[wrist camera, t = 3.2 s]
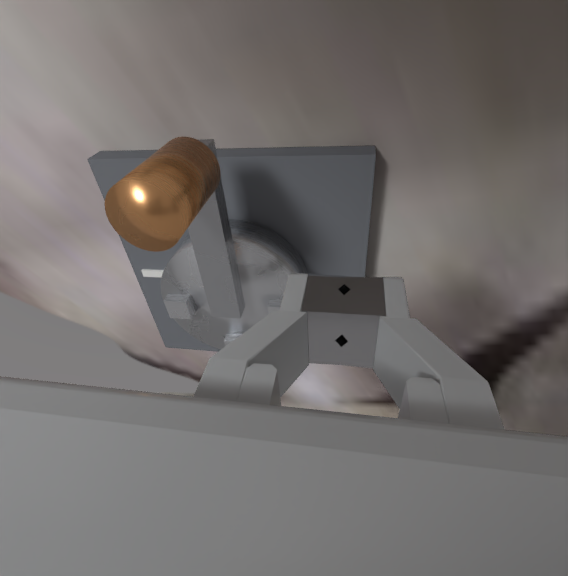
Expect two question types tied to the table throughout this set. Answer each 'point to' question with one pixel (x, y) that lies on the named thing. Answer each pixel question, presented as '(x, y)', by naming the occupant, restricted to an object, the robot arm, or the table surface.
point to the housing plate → (269, 211)
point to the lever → (201, 242)
